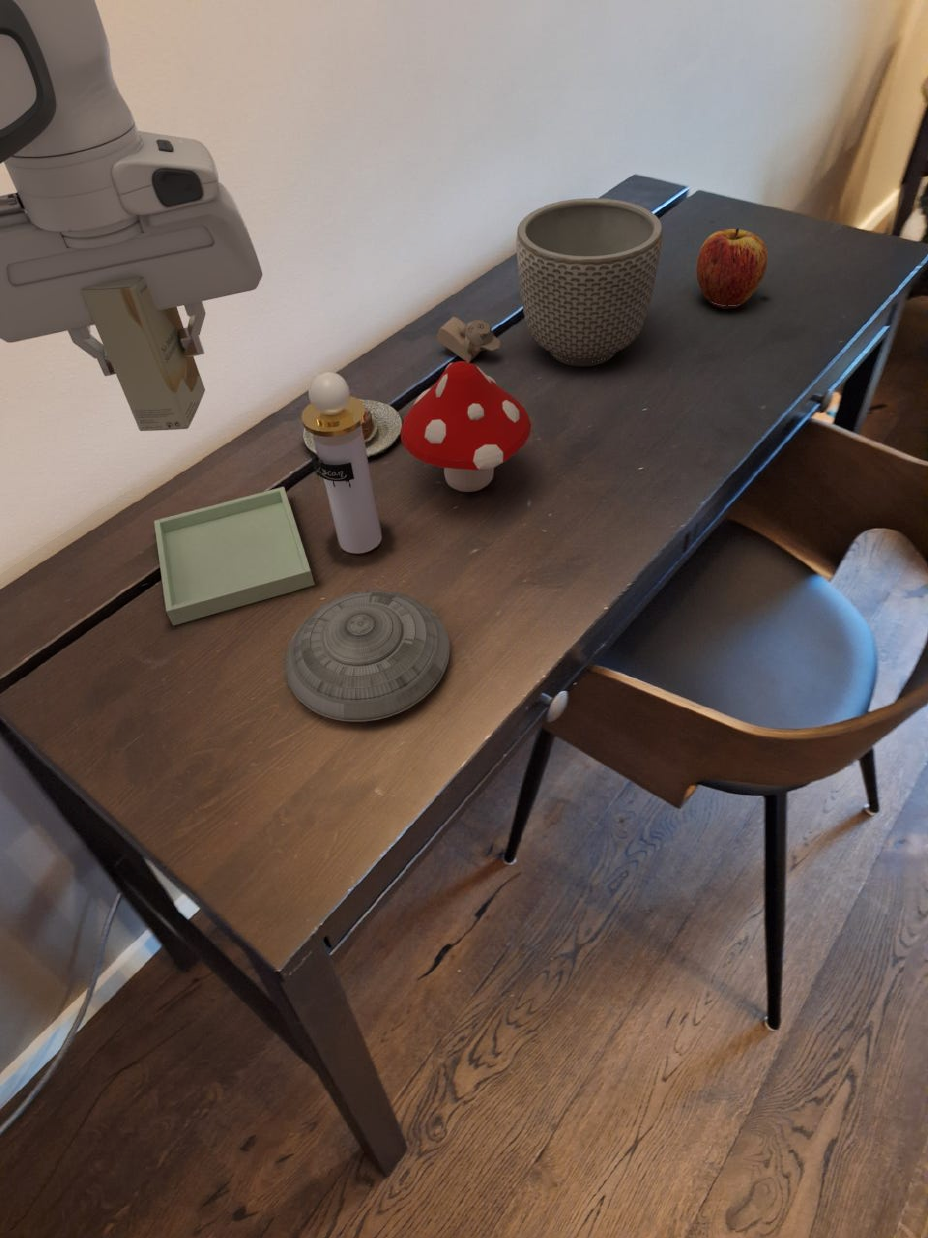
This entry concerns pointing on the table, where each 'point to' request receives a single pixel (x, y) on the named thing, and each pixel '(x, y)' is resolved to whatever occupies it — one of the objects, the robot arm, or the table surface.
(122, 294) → the cosmetic box
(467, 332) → the toy character
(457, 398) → the decorative mushroom
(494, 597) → the table surface
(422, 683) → the flying saucer
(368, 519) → the perfume bottle
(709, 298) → the apple
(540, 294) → the planter
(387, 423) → the grey speckled shallow bowl
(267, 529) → the tray
